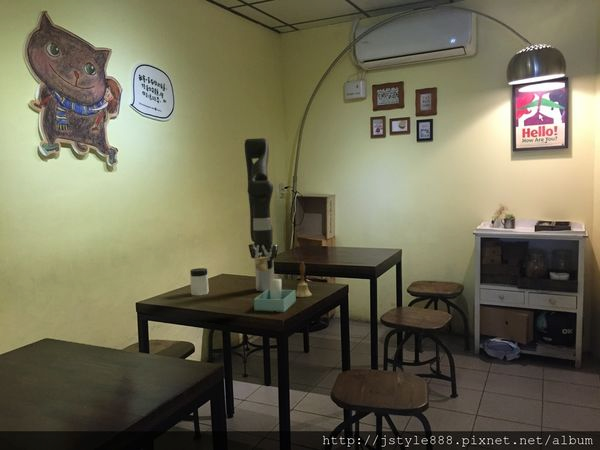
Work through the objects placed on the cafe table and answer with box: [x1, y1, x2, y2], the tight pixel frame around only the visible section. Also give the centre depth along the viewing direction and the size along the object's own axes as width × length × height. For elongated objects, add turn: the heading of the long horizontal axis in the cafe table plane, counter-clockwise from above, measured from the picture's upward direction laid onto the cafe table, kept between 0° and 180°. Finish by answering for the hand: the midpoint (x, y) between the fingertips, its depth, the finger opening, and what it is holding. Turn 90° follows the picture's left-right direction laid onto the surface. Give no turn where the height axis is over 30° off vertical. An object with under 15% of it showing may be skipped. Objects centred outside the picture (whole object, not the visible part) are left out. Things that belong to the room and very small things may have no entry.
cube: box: [254, 257, 273, 271], centre depth 200 cm, size 5×5×5 cm
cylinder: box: [270, 278, 283, 300], centre depth 210 cm, size 5×5×10 cm
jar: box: [189, 267, 210, 296], centre depth 234 cm, size 9×8×12 cm
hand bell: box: [295, 261, 313, 298], centre depth 222 cm, size 8×8×16 cm
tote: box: [253, 289, 297, 313], centre depth 206 cm, size 17×13×5 cm
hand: (264, 268), depth 200 cm, fingers closed on cube, 5 cm apart
